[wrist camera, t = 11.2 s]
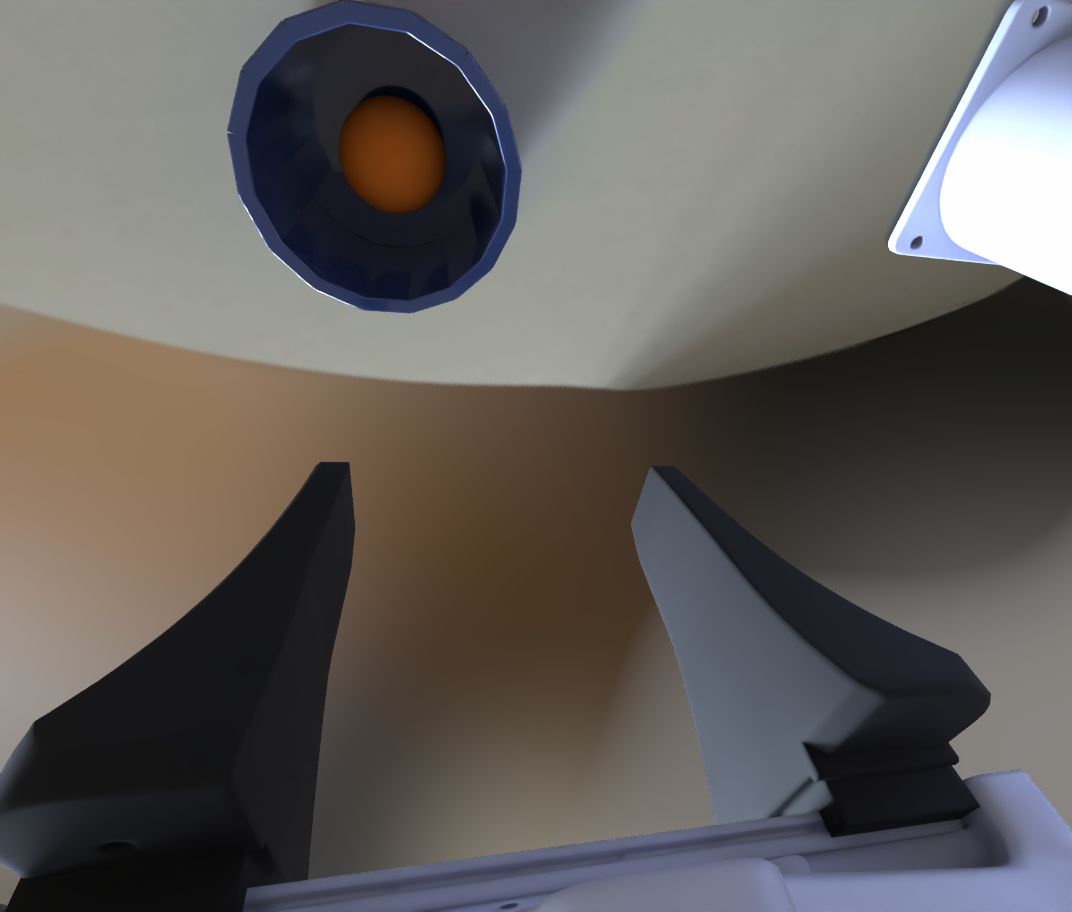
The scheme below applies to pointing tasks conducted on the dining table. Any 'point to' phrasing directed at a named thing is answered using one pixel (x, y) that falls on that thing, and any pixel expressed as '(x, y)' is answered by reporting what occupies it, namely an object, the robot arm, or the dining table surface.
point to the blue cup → (315, 171)
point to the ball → (391, 154)
